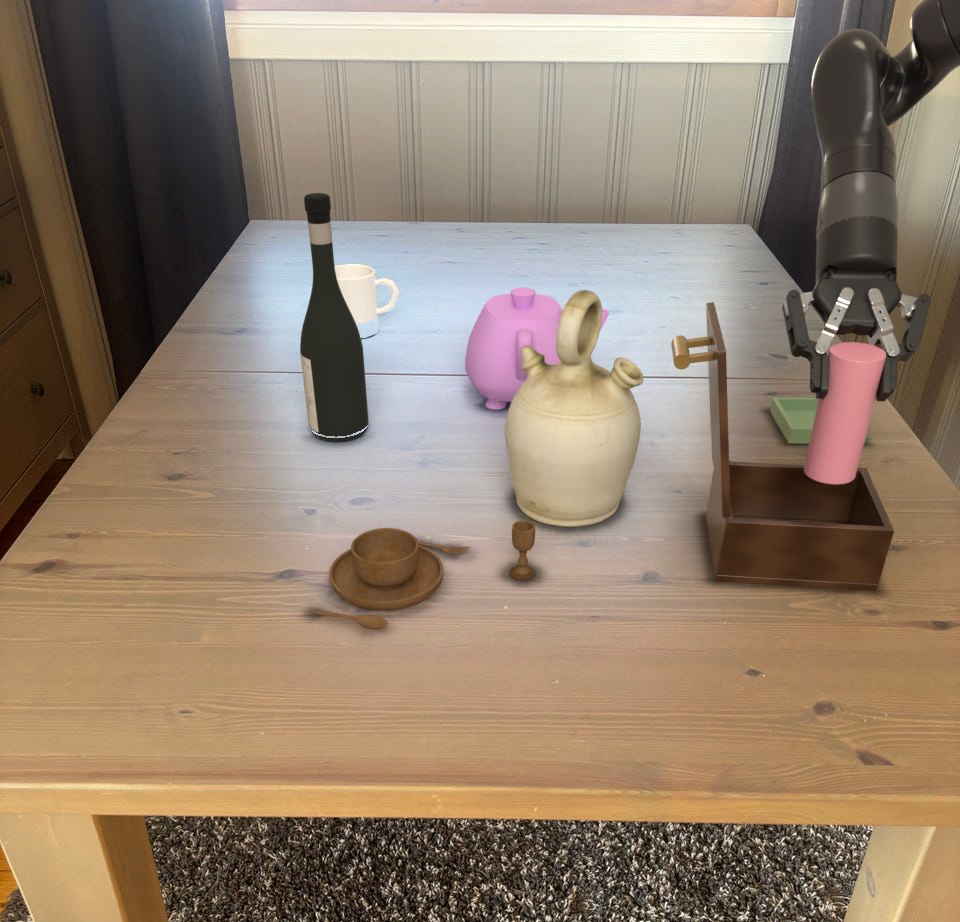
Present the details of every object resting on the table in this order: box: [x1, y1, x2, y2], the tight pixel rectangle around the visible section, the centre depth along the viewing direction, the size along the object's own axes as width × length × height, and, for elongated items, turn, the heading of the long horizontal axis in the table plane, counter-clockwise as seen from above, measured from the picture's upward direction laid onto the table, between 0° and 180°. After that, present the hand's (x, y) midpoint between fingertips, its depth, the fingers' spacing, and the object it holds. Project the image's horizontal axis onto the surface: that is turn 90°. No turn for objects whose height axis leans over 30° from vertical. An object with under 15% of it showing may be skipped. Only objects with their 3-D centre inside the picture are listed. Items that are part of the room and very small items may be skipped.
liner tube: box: [803, 341, 886, 484], centre depth 97 cm, size 5×5×13 cm
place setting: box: [310, 519, 537, 629], centre depth 100 cm, size 18×20×6 cm
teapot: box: [464, 287, 610, 410], centre depth 136 cm, size 20×20×15 cm
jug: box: [504, 289, 644, 528], centre depth 109 cm, size 15×16×25 cm
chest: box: [705, 460, 895, 591], centre depth 105 cm, size 17×14×7 cm
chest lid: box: [670, 301, 731, 518], centre depth 99 cm, size 17×14×5 cm
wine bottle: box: [299, 192, 369, 443], centre depth 123 cm, size 8×8×30 cm
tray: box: [769, 397, 870, 445], centre depth 132 cm, size 10×10×2 cm
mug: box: [335, 263, 401, 324], centre depth 159 cm, size 8×12×10 cm, turn 82°
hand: (852, 396), depth 94 cm, fingers closed on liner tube, 5 cm apart
